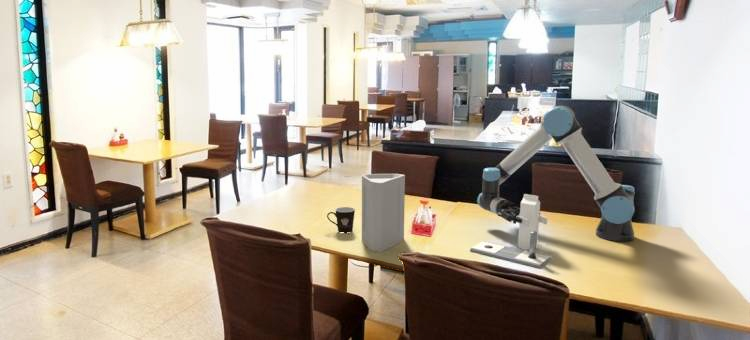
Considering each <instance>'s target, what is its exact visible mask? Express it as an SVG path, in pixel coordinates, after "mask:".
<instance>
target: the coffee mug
mask: <svg viewBox="0 0 750 340" xmlns="http://www.w3.org/2000/svg"><path fill="white" fill-rule="evenodd" d="M355 211H356V209H355V207H350V206H340V207H337V208H335V212H334V211H330V212H328V213H327V215H326V218H327V219H328V221H329V222H331V223H332V224H334V225H335V226H336V228H337V232H338V231H339V232H344V233H343V234H348V233H347V232H351V233H352V232H353V227H354V220H355ZM330 214H333V215H334V217H336V222H335V221H333V220H331V219H330V218H329V215H330ZM339 232H338V233H339Z"/></svg>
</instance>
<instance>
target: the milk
mask: <svg viewBox="0 0 750 340" xmlns="http://www.w3.org/2000/svg"><path fill="white" fill-rule="evenodd" d="M519 208H520V214H519V215H520V216H521V217H523V218H526V219H528V220H529V227H527V226H524V225H522V224H520V223H518V238H517V239H518V240H517V249H521V250H526V251H529V249H530V234H531V231H536V232H537V243H538V242H539V241H538V240H539V227H540V225H539V224H540V222H539V213H540V214H541V211H540V210H541V201H540V200H539V195H534V194H528V193H524V194H523V197H522V200H521V201H520V207H519ZM537 247H538V244H537V245H536V248H537Z"/></svg>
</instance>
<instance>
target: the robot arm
mask: <svg viewBox="0 0 750 340" xmlns="http://www.w3.org/2000/svg"><path fill="white" fill-rule="evenodd" d="M582 130H583V128H582V126H581V125H580V123H579V122H578V120H577V119H576V114H575V112H574V110H573V108H571V107H570V106H567V105H564V104H563V105H562V104H558V105H556V106H553V107H551V108H549V109H548V110H546V112H545V113H544V115H543V118H542V120H541V122H540V124H539V127H537V129H535V131H533V132H532V133H531V134H530V135H528V137H526V139H524V140H523V141H522V142H521V143H520V144H519V145H517V147H516V148H515V149H513V150H512V151H511V152H510V153H509V154H508V155H507V156H506V157H505V158H504V159H502V161H500V163H498V164H497V165H496V166H495V167H486V168H483V172H482V191H481V192H480V193H479V194H478V197H477V198H476V199H477V200H476V203H477V205H478V206H479V207H480V208H482V209H483V210H485V211H487V212H490V213H493V214H495V215H497V216H498V217H500V218H502V219H504V220H505V221H506V222H509V223H511V222H512V224H515V225H516V224H517V223H518V224H519V223H520V224H522V225H524V226H527V227H529V220H528V219H526V218H523V217H521V216H520V207H518V206H515V204H514V202H512V201H510V200H508V199H505V198H503V197H500V185H502V183H504V182H505V181H506V180H507V179H509V178H510V177H511V175H513V173H515V172H516V171H517V170H518V169H519V168H521V166H523V165H524V164H525V163H526V162H527V161H529V160H530V159H531V158H532V157H533V156H534V155H535V154H536V153H537V152H539V151H540V150H541V149H542V148H543V147H544V146H545V145H546V144H548V143H549V142H551V140H552V139H553V140H554V142H555V143H556V144H557V145H561V146H562V147H563V148H564V150H565V151H566V153H567V155H568V156H569V157H570V159H571V160H572V162H573V163H574V165H575V166H576V168H577V169H578V171H579V172H580V173H581V175H582V176H583V178H584V180H585V181H586V182H587V184H588V185H589V187H590V188H591V190H592V191H593V192H594V196H593V200H594V201H595V203H596V204H597V205H598V207H599V209H600V212H601V218H600V219H599V222H598V224H597V226H596V230H595V235H596V236H597V237H599V238H601V239H604V240H608V241H613V242H621V243H622V242H623V243H625V242H631V241H633V240H634V239H635V231H634V227H633V223H632V217H633V216H634V214H635V211H636V209H635V202H634V198H635V193H636V192H635V187H634V186H632V185H628V184H621V183H618V182H615V181H614V180H613V178H612V177H611V175H610V173H609V172H608V171H607V170H606V168H605V167H604V165H603V163H602V162H601V161H600V160H599V157H597V154H596V153H595V152H594V151H593V148H592V147H591V146H590V144H589V143H588V141H587V140H586V139H585V138H584V135H583V134H582ZM539 223H541V224H543V225H548V217H547V216H544V215H542V214H541V212H540V213H539Z"/></svg>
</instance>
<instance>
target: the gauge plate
mask: <svg viewBox="0 0 750 340" xmlns="http://www.w3.org/2000/svg"><path fill="white" fill-rule="evenodd" d="M469 251H470V252H473V253H475V254H481V255H484V256H489V257H493V258H496V259H500V260H505V261H509V262H512V263H516V264H519V265H520V264H521V265H524V266H529V267H533V268H537V269H540V268H541V267H542V266H544V265H545V264H547V263H548V262H549V261H550V260H551V259H552V256H551V255H546V254H543V253H542V254H541V253H538V252H536V258H530V257H529V250H526V249H522V248H517V247H511V246H506V245H503V244H499V243H494V242H490V241H485V240H484V241H483V240H482V241H480V242H479V243H477V244H475V245H474V246H471V248H469Z"/></svg>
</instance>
